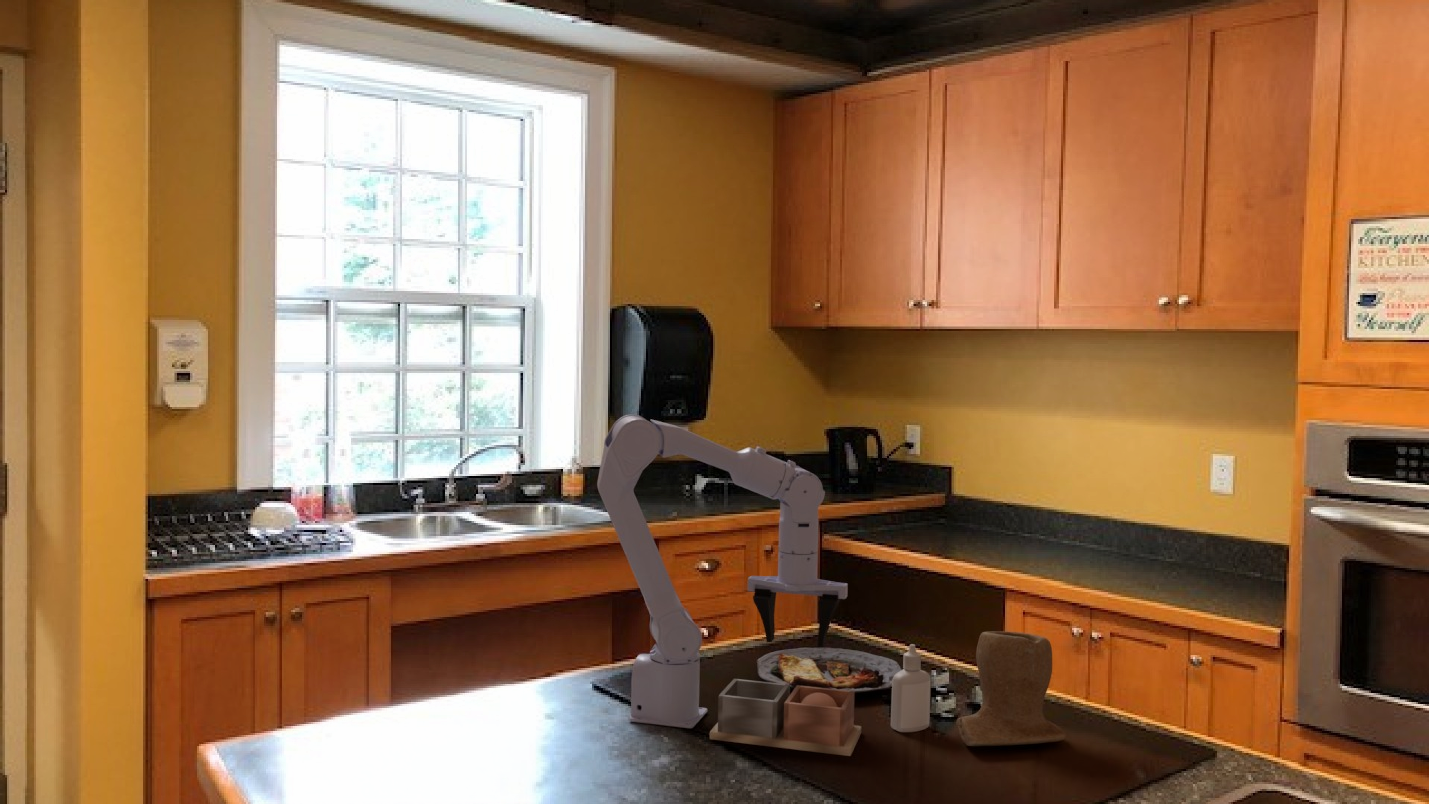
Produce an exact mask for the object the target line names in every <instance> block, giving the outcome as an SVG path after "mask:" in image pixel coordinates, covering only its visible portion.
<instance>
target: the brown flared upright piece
mask: <svg viewBox="0 0 1429 804" xmlns="http://www.w3.org/2000/svg"><path fill="white" fill-rule="evenodd" d="M975 658H976V665H977V671H978V676H979V681H980V682H979V683H980V688H981V697H982V698H981V699H982V703H981V706H980V709H979V710H978V711H977V712H975V713H974V714H970V715H965V716H964V715H963V716H960V717H958V718H957V719H956V721H955V723H956V726H957V728H958V732H959V735H960V738H961V740H962V742H963V743H964V744H965V746H968V747H997V746H998V747H999V746H1001V747H1003V746H1004V747H1005V746H1017V745H1018V746H1020V745H1035V744H1037V745H1038V744H1046V743H1054V742H1060V741H1063V740H1065V739H1066V733H1065V732H1064V731H1063V730H1062V729H1061V728H1060V727H1059V726H1057V725H1056V724H1055V723H1053V722H1051V721H1050V720H1048V719H1046V717H1045V716H1044V714H1043V706H1044V701H1045V697H1046V694H1047V691H1048V689H1049V685H1050V682H1051V678H1052V673H1053V649H1052V644H1051V641H1049V639H1048V638H1046V637H1045V636H1041V635H1036V634H1034V633H1033V634H1032V633H1025V632H1017V631H1004V630H1003V631H998V630H997V631H996V630H995V631H983V632H981V633H980V635H979V638H978V642H977V646H976V653H975Z"/></svg>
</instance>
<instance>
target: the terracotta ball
mask: <svg viewBox="0 0 1429 804" xmlns="http://www.w3.org/2000/svg"><path fill="white" fill-rule="evenodd" d="M801 703H803V704H812V705H821V706H830V707H838V706H837V704H836V702H835V701H834V700H833V698H831V697H830V696H829V695H827V694H824V693H812V694H810V695H808V696H807V697H805V698H804V699H803V701H802V702H801Z"/></svg>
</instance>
